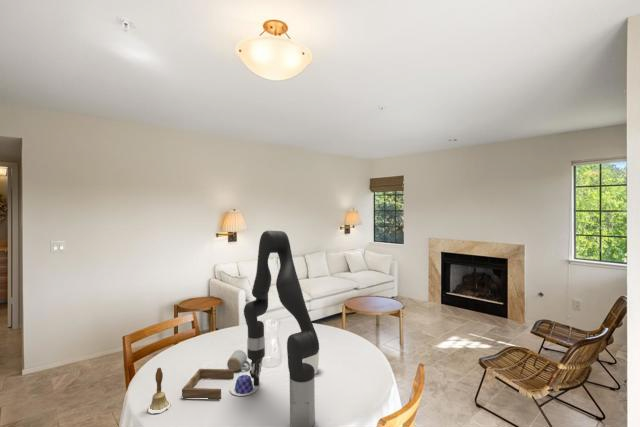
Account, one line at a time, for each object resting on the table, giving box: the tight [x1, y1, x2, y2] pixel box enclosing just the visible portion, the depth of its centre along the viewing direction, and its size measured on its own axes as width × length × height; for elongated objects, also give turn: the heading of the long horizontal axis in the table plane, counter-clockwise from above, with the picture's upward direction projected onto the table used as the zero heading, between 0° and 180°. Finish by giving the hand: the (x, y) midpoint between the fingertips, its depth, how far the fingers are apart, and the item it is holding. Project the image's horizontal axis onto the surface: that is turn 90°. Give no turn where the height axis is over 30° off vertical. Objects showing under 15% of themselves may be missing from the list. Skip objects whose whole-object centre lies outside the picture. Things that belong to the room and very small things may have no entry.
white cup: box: [303, 350, 320, 375], centre depth 158 cm, size 8×8×10 cm
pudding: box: [229, 374, 259, 397], centre depth 143 cm, size 12×12×5 cm
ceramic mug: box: [226, 349, 251, 373], centre depth 161 cm, size 11×8×8 cm
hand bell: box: [149, 367, 170, 410], centre depth 130 cm, size 8×8×16 cm
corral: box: [181, 368, 235, 400], centre depth 144 cm, size 17×16×4 cm
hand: (256, 384), depth 144 cm, fingers closed
